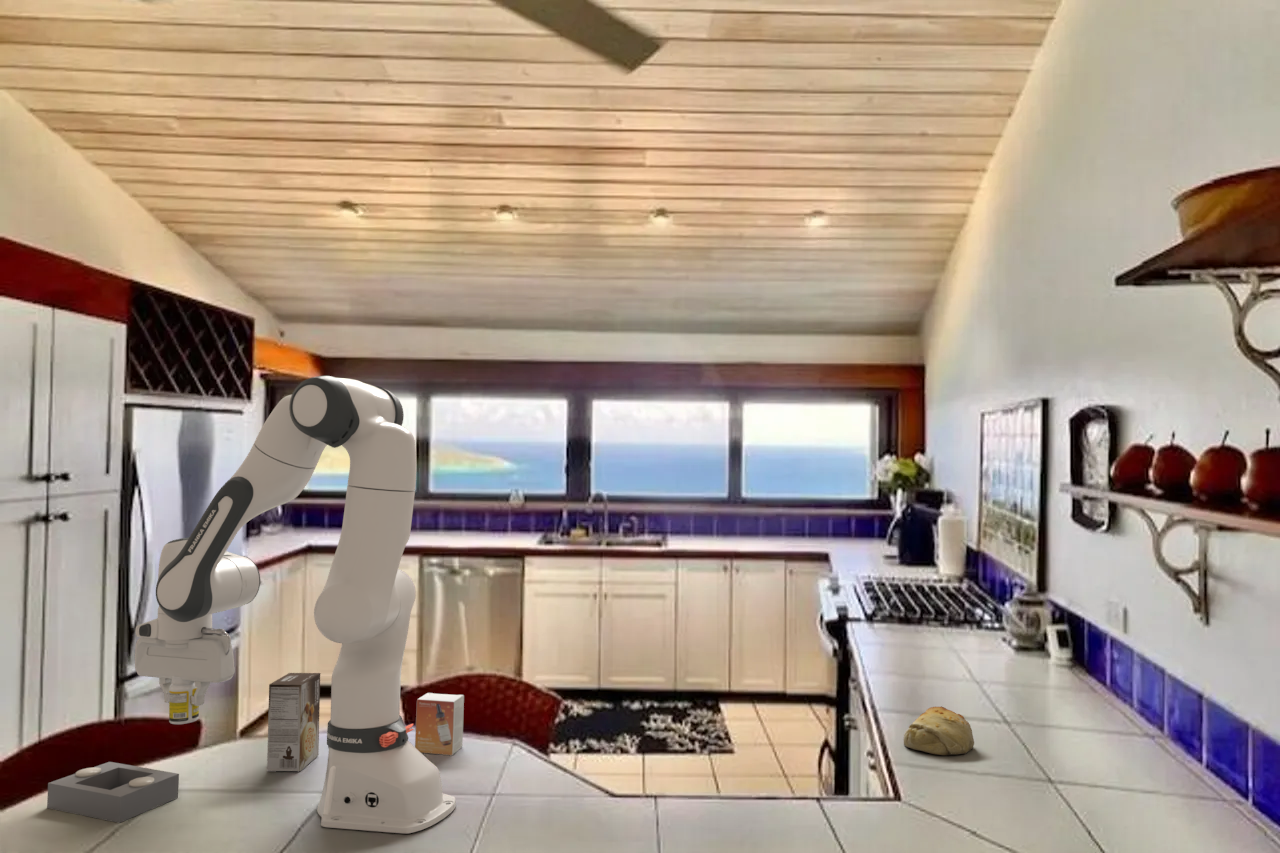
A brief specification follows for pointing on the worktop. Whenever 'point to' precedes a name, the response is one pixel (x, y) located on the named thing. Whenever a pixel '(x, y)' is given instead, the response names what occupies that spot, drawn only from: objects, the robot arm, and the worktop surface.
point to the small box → (439, 723)
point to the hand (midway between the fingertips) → (184, 703)
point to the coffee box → (293, 721)
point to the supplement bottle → (182, 701)
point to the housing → (113, 791)
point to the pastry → (940, 733)
